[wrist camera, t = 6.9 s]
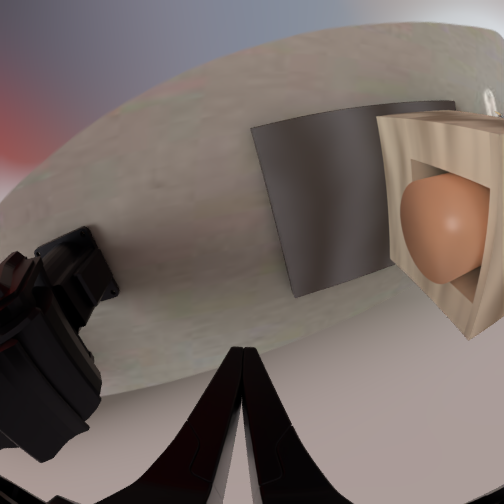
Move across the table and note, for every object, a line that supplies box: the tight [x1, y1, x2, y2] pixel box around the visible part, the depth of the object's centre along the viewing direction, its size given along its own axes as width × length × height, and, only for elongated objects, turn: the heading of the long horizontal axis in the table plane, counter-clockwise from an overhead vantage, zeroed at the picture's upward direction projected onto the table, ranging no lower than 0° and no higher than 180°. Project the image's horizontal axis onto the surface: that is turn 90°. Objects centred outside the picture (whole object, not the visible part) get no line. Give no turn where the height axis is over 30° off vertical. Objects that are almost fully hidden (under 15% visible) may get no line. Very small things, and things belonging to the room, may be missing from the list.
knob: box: [400, 172, 490, 284], centre depth 13 cm, size 7×6×6 cm
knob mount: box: [250, 101, 504, 341], centre depth 15 cm, size 18×14×12 cm
